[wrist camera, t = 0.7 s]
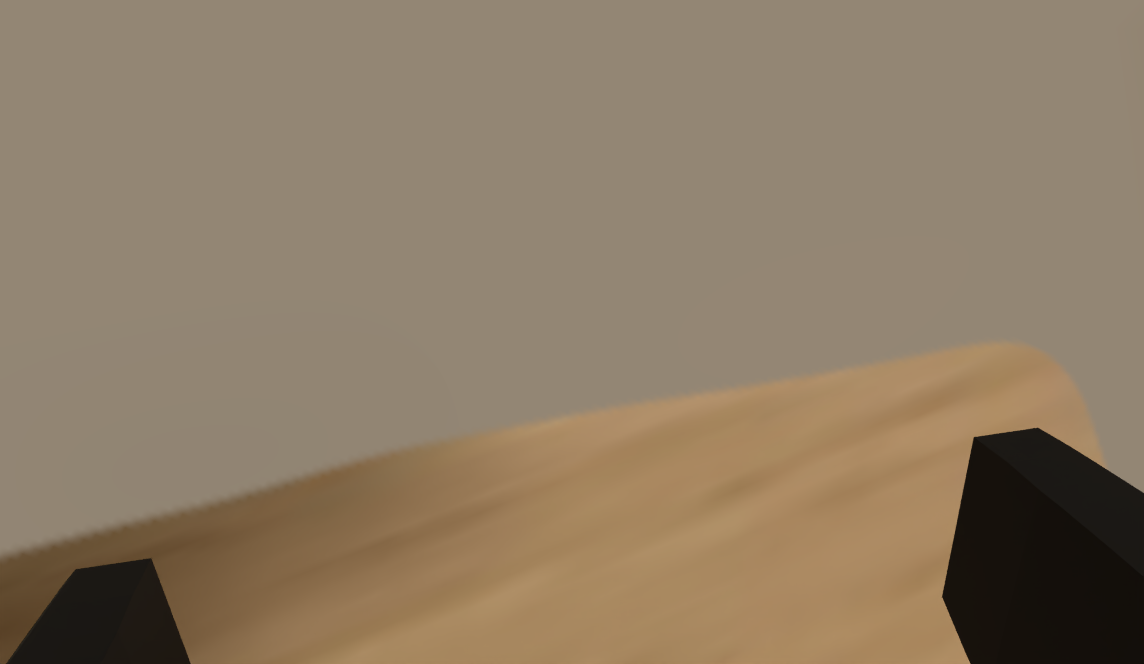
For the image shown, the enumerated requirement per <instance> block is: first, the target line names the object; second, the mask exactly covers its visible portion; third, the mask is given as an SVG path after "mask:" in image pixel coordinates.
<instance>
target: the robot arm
mask: <svg viewBox="0 0 1144 664" xmlns="http://www.w3.org/2000/svg"><path fill="white" fill-rule="evenodd" d="M942 598H943V600H944V602H945V605H946V607H947V609H948V612H949V614H950V617H951V619H952V621H953V624H954V626H955V629H956V631H957V633H958V636H959V638H960V641H961V643H962V645H963V648H964V650H965V653H966V655H967V657H968V659H969V661H970V663H971V664H1144V493H1143V492H1141V491H1140V490H1138V489H1136V488H1135V487H1133V486H1131V485H1130V484H1129V483H1127V482H1125V481H1124V480H1122V479H1121V478H1119V477H1118V476H1116V475H1114V474H1113V473H1111V472H1110V471H1108V470H1107V469H1105V468H1103V467H1102V466H1100V465H1099V464H1097V463H1096V462H1094V461H1092V460H1091V459H1089V458H1088V457H1086V456H1084V455H1083V454H1081V453H1080V452H1078V451H1076V450H1075V449H1073V448H1071V447H1070V446H1068V445H1066V444H1065V443H1063V442H1062V441H1060V440H1058V439H1056V438H1055V437H1053V436H1051V435H1050V434H1048V433H1046V432H1044V431H1043V430H1041V429H1039V428H1033V429H1026V430H1020V431H1013V432H1006V433H999V434H992V435H986V436H979V437H974V439H973V444H972V449H971V454H970V459H969V464H968V469H967V474H966V479H965V484H964V489H963V494H962V499H961V504H960V509H959V514H958V520H957V525H956V530H955V535H954V540H953V545H952V550H951V555H950V560H949V565H948V570H947V575H946V580H945V585H944V590H943V595H942ZM6 664H191V663H190V661H189V658H188V655H187V653H186V650H185V647H184V645H183V642H182V639H181V637H180V634H179V631H178V629H177V626H176V623H175V621H174V618H173V615H172V613H171V610H170V607H169V605H168V602H167V599H166V596H165V594H164V591H163V588H162V586H161V583H160V580H159V578H158V575H157V572H156V570H155V567H154V564H153V562H152V559H151V558H150V559H143V560H136V561H130V562H123V563H116V564H109V565H102V566H96V567H89V568H82V569H76V570H75V571H74V572H73V573H72V575H71V576H70V577H69V578H68V579H67V581H66V582H65V583H64V585H63V586H62V587H61V589H60V590H59V591H58V593H57V594H56V595H55V597H54V598H53V599H52V601H51V602H50V604H49V605H48V606H47V608H46V609H45V610H44V612H43V613H42V615H41V616H40V617H39V619H38V620H37V621H36V623H35V624H34V626H33V627H32V628H31V630H30V631H29V633H28V634H27V635H26V637H25V638H24V640H23V641H22V642H21V644H20V645H19V647H18V648H17V649H16V651H15V652H14V653H13V655H12V656H11V658H10V659H9V660H8V662H7V663H6Z"/></svg>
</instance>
